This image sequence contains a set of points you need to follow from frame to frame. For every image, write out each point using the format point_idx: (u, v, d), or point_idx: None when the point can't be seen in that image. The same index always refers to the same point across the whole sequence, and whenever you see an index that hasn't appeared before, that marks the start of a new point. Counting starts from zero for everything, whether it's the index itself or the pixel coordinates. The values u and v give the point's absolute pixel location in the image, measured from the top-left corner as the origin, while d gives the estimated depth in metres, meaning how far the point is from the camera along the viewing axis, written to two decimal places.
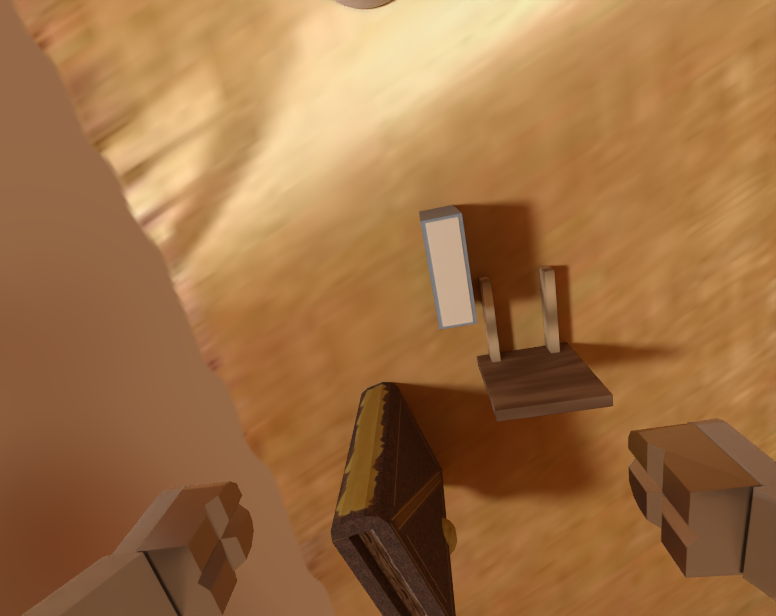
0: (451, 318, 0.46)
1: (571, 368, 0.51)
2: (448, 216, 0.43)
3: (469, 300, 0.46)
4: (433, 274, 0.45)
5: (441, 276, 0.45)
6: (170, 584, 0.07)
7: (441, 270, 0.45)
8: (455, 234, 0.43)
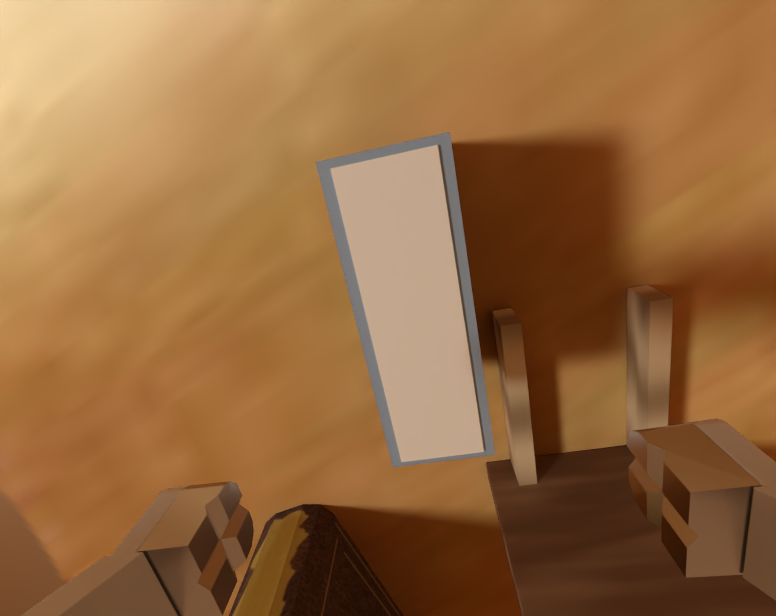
0: (423, 442, 0.17)
1: None
2: (406, 144, 0.13)
3: (475, 396, 0.16)
4: (368, 326, 0.15)
5: (389, 332, 0.15)
6: (170, 584, 0.07)
7: (390, 316, 0.15)
8: (431, 203, 0.13)
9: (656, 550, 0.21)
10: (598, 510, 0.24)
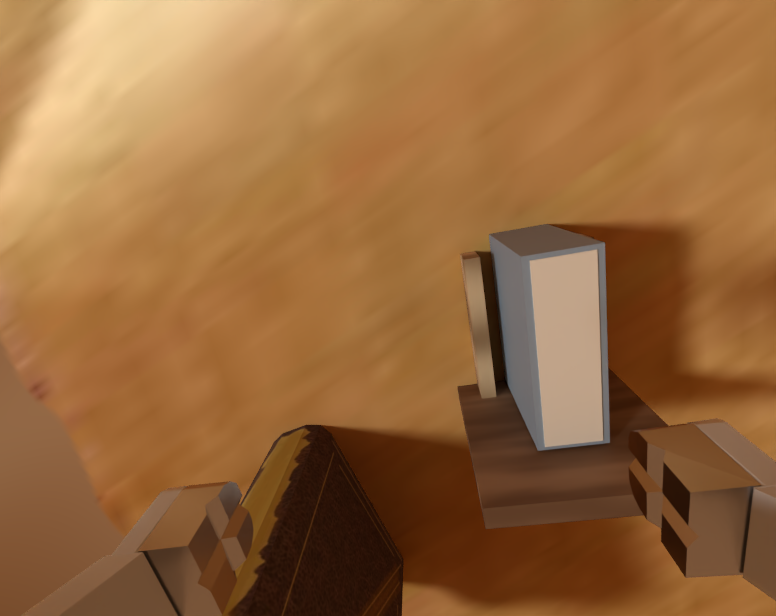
0: (562, 433, 0.25)
1: (626, 416, 0.28)
2: (576, 248, 0.22)
3: (600, 402, 0.24)
4: (537, 355, 0.24)
5: (551, 359, 0.24)
6: (170, 584, 0.07)
7: (552, 349, 0.23)
8: (588, 282, 0.22)
9: None
10: None
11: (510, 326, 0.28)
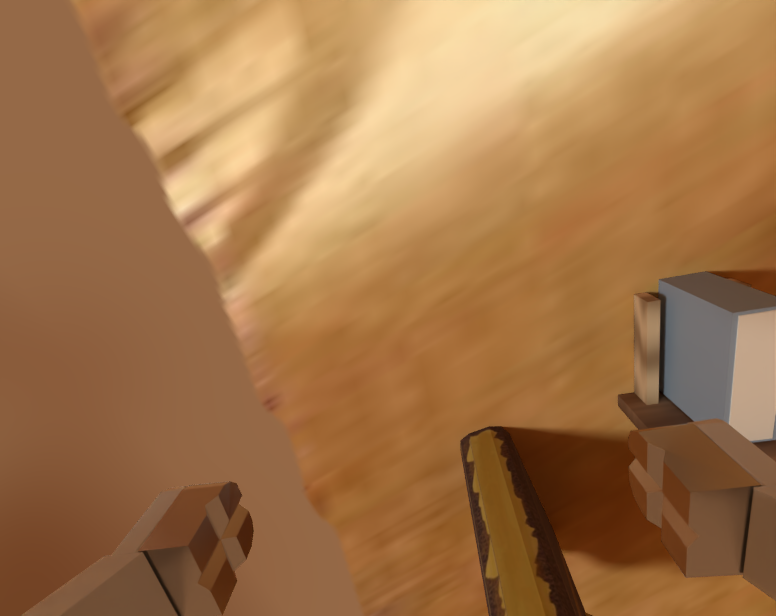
0: (742, 433, 0.35)
1: None
2: (773, 307, 0.31)
3: (773, 411, 0.34)
4: (733, 379, 0.33)
5: (743, 382, 0.33)
6: (170, 584, 0.07)
7: (744, 375, 0.33)
8: None
9: None
10: None
11: (688, 353, 0.38)
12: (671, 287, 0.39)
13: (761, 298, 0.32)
